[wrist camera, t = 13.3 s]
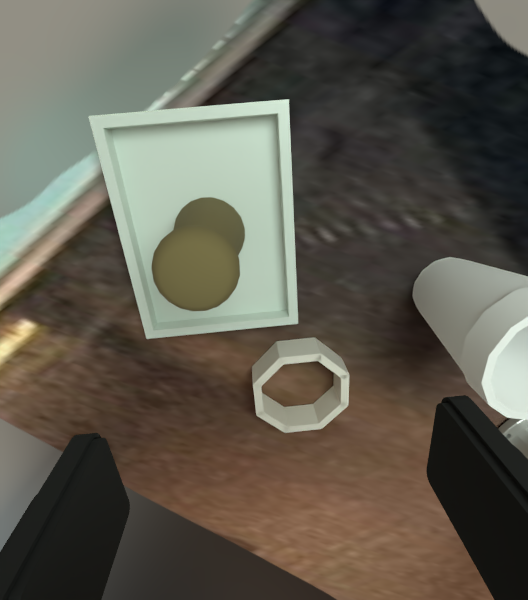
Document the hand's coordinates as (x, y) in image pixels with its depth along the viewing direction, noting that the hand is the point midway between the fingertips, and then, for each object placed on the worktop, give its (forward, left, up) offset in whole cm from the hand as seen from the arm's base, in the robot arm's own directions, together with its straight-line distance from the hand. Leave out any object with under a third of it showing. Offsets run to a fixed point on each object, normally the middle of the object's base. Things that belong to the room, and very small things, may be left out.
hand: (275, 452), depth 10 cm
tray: (+2, +3, -23) cm, 23 cm away
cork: (+2, +3, -22) cm, 22 cm away
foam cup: (-6, -19, -23) cm, 30 cm away
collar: (-15, -4, -23) cm, 28 cm away
